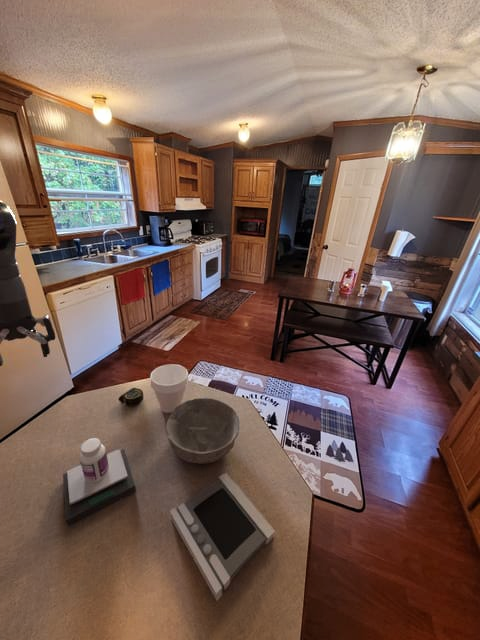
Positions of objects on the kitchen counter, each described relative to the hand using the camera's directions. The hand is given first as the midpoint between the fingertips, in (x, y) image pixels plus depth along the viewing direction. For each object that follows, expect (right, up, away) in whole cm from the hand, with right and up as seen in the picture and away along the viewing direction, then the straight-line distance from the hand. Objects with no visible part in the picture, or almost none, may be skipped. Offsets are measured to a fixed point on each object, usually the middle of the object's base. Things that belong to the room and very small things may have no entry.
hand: (23, 359), depth 62 cm
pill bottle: (+18, -28, +1) cm, 33 cm away
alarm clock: (+49, -37, -5) cm, 62 cm away
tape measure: (+14, -20, +29) cm, 37 cm away
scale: (+18, -32, +1) cm, 36 cm away
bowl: (+42, -28, +14) cm, 52 cm away
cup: (+28, -21, +28) cm, 45 cm away
